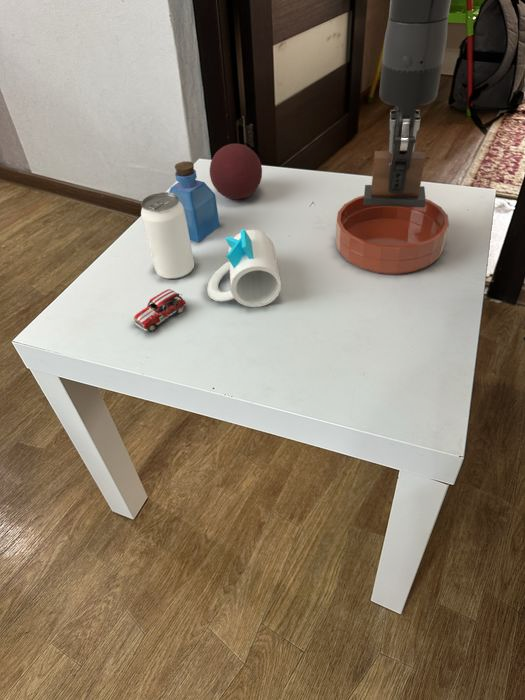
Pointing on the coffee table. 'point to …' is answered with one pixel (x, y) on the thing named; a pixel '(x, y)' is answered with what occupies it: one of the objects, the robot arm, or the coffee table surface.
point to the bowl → (391, 236)
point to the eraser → (380, 183)
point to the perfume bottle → (195, 202)
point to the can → (167, 235)
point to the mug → (248, 270)
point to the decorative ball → (235, 171)
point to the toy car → (159, 309)
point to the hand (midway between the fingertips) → (395, 186)
